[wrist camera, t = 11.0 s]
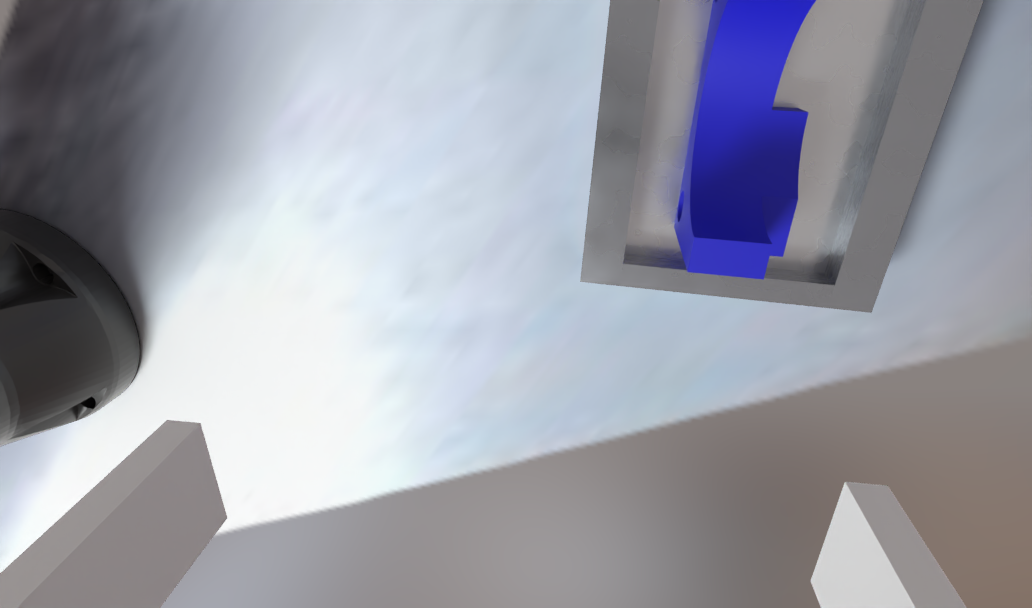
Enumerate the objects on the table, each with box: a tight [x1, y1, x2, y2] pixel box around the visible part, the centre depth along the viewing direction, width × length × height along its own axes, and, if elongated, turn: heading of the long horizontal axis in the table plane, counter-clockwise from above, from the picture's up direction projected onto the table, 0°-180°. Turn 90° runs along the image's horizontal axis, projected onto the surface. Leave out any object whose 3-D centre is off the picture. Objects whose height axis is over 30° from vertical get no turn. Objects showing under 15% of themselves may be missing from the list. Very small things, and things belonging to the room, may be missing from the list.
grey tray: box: [580, 0, 984, 312], centre depth 26 cm, size 14×18×3 cm
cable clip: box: [674, 0, 816, 280], centre depth 23 cm, size 12×4×6 cm, turn 177°
